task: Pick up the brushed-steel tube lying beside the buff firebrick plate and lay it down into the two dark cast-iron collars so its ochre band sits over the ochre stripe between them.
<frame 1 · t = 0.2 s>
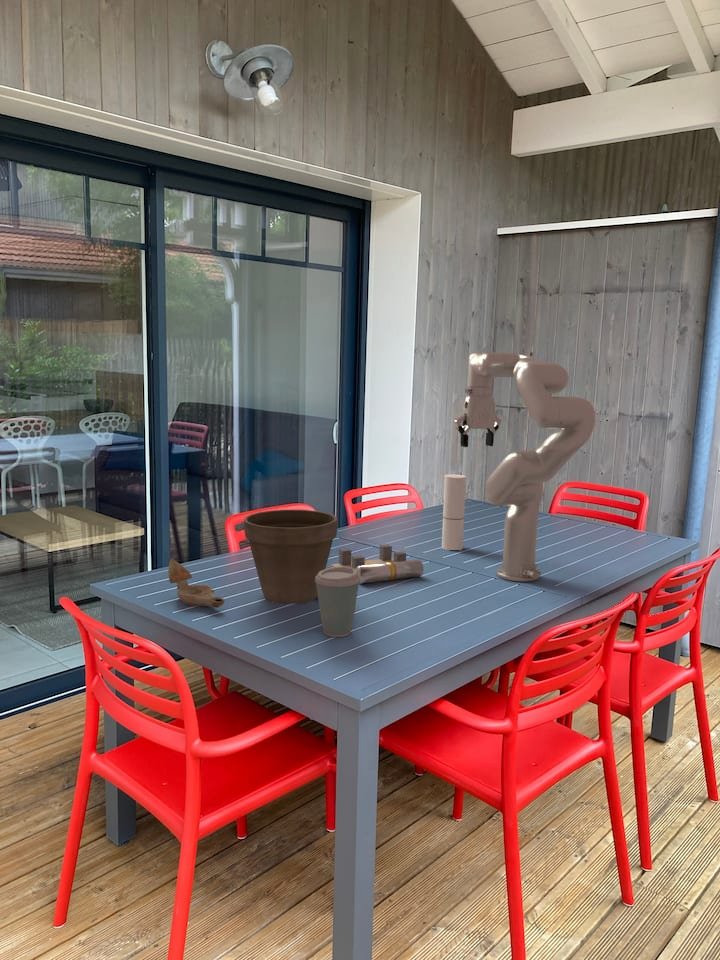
hand: (476, 446, 247), 37 cm above the table, tool pointing down, fingers open, 9 cm apart
disposable coffee cup: (336, 633, 181), on the table
cylindrical container: (452, 548, 263), on the table
oil lamp: (196, 604, 200), on the table
tube: (389, 579, 225), on the table
plant pot: (290, 596, 208), on the table
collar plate: (372, 570, 234), on the table
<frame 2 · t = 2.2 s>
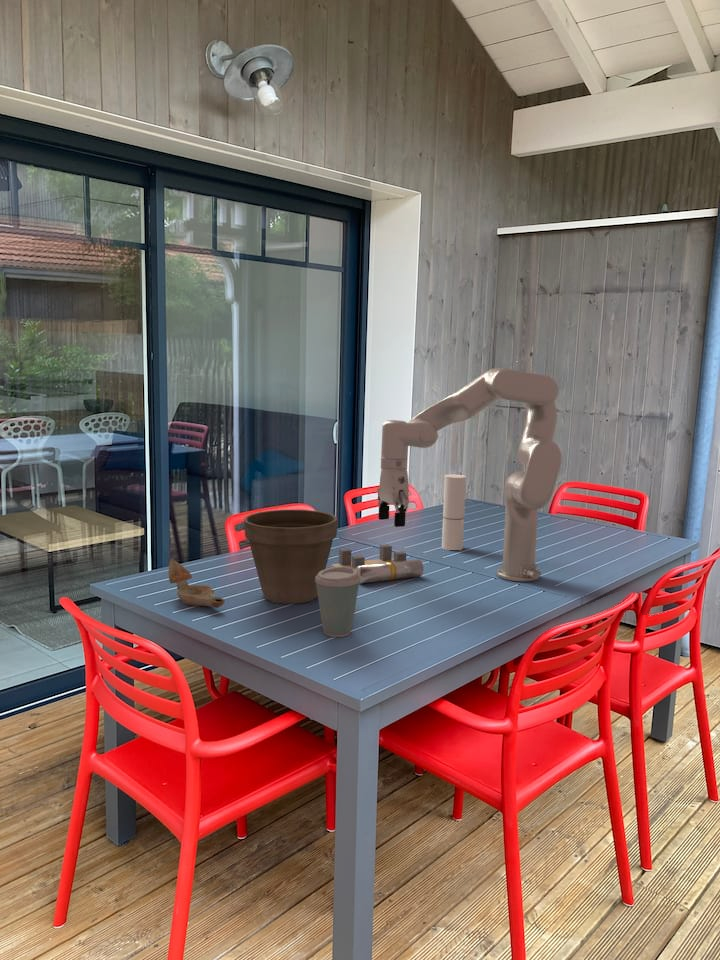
hand: (391, 522, 222), 17 cm above the table, tool pointing down, fingers open, 9 cm apart
nothing on the table moved.
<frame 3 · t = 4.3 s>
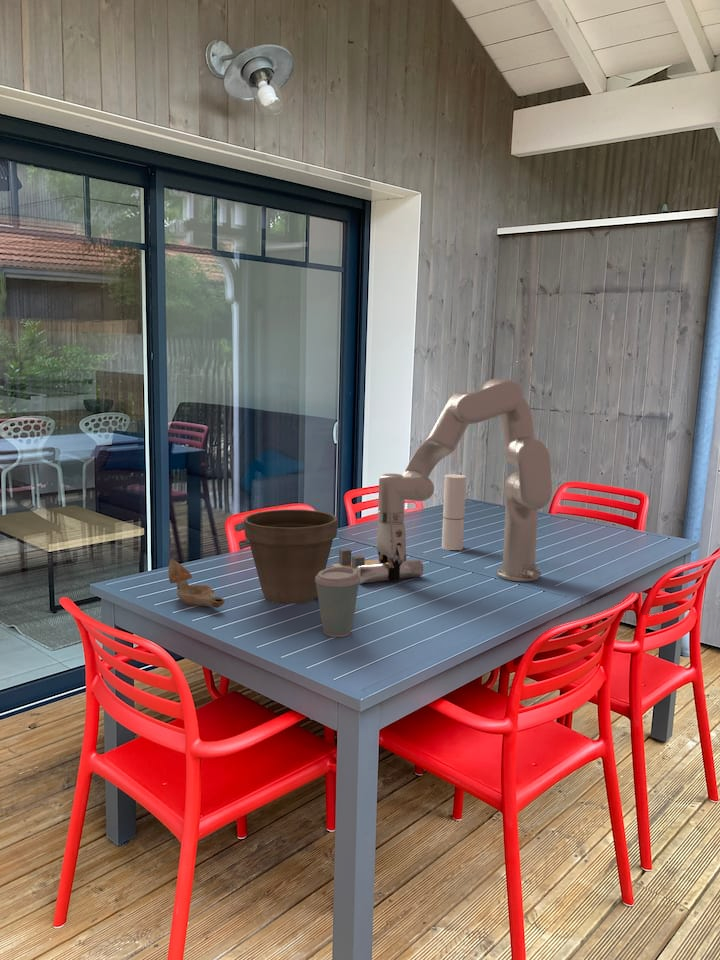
hand: (389, 577, 224), 1 cm above the table, tool pointing down, fingers closed on tube, 5 cm apart
tube: (389, 579, 225), on the table, touching gripper
everything else where it was.
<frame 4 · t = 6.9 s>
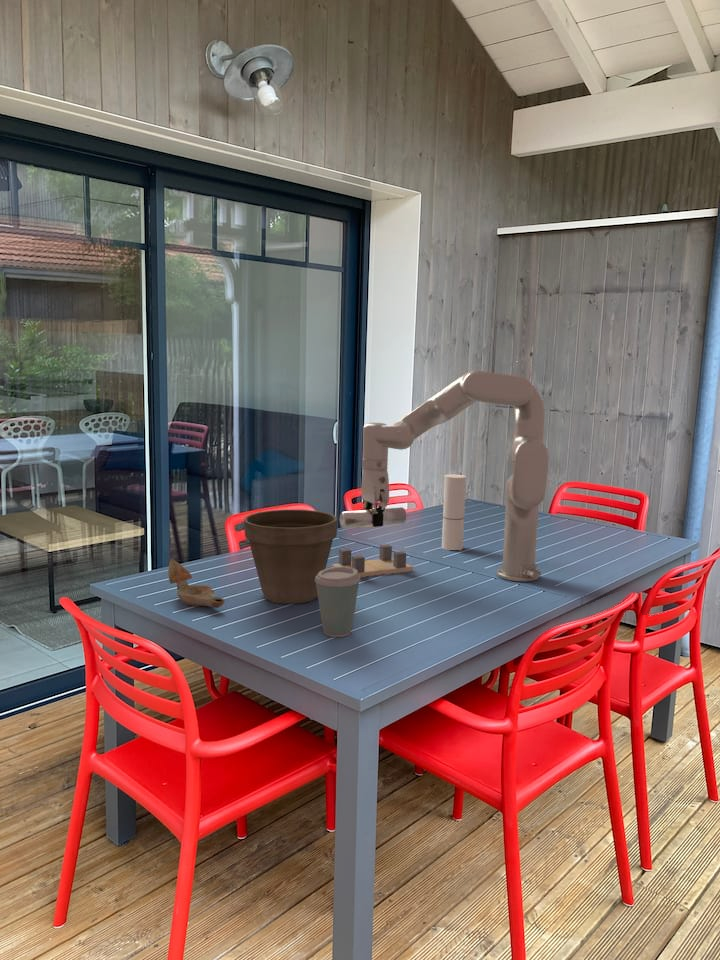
hand: (373, 523, 232), 14 cm above the table, tool pointing down, fingers closed on tube, 5 cm apart
tube: (373, 526, 232), point 14 cm above the table, touching gripper
everything else where it was.
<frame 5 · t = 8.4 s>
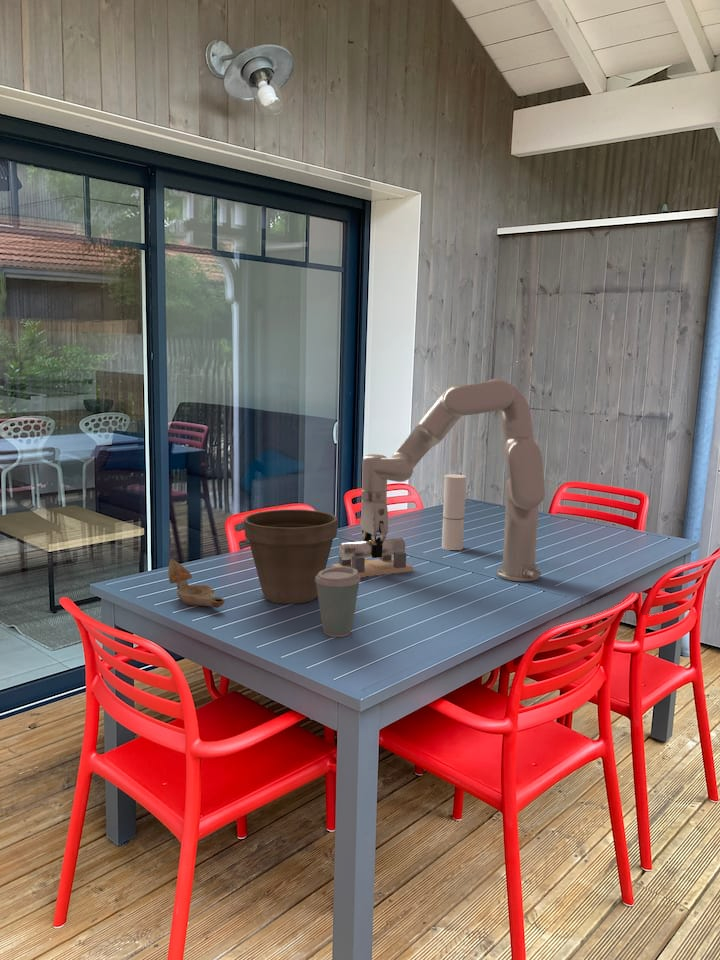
hand: (372, 554, 233), 5 cm above the table, tool pointing down, fingers closed on tube, 5 cm apart
tube: (372, 556, 234), point 4 cm above the table, touching gripper
everything else where it was.
when the fingers open (4 cm above the table, at t = 9.5 s): tube drops 1 cm, resting on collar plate.
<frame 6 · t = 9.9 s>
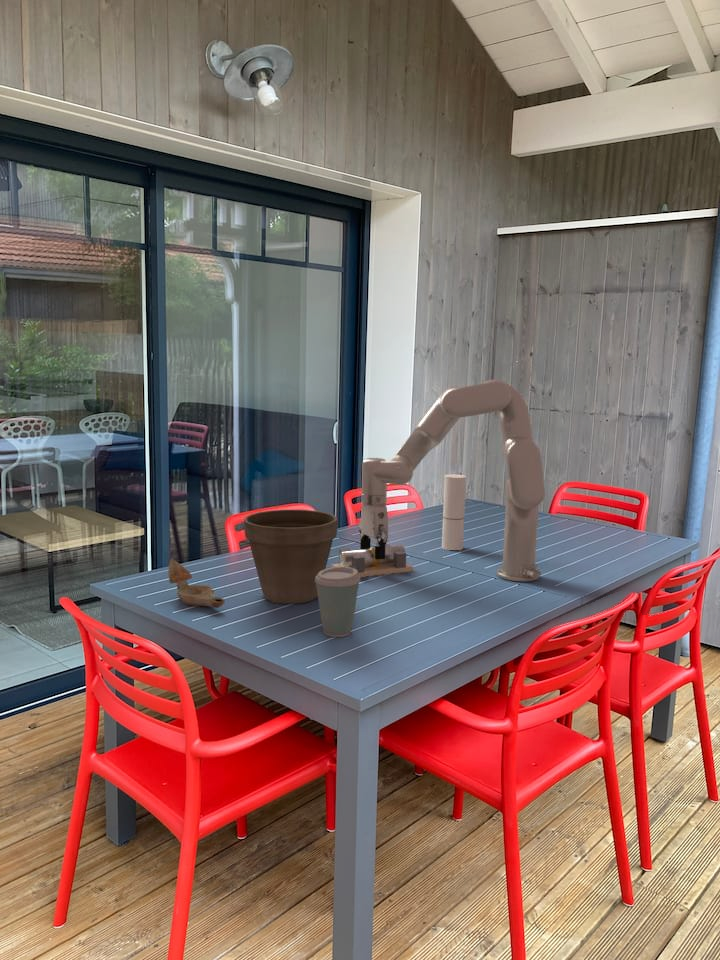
hand: (372, 555, 234), 5 cm above the table, tool pointing down, fingers open, 9 cm apart
tube: (372, 564, 234), point 2 cm above the table, touching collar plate
everything else where it was.
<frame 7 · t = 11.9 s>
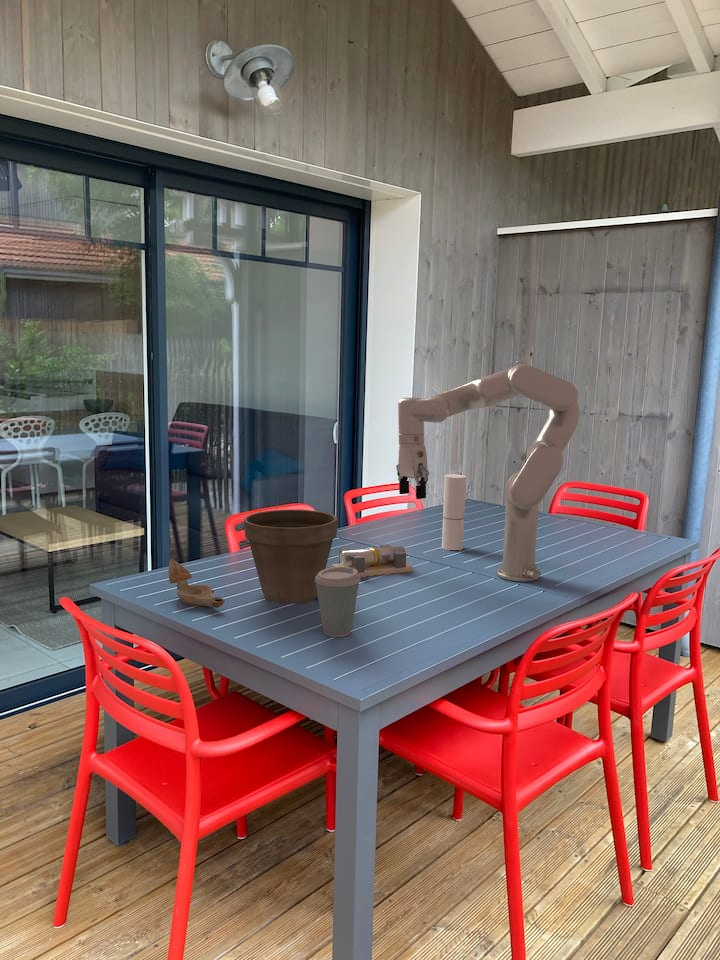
hand: (412, 496, 231), 23 cm above the table, tool pointing down, fingers open, 9 cm apart
nothing on the table moved.
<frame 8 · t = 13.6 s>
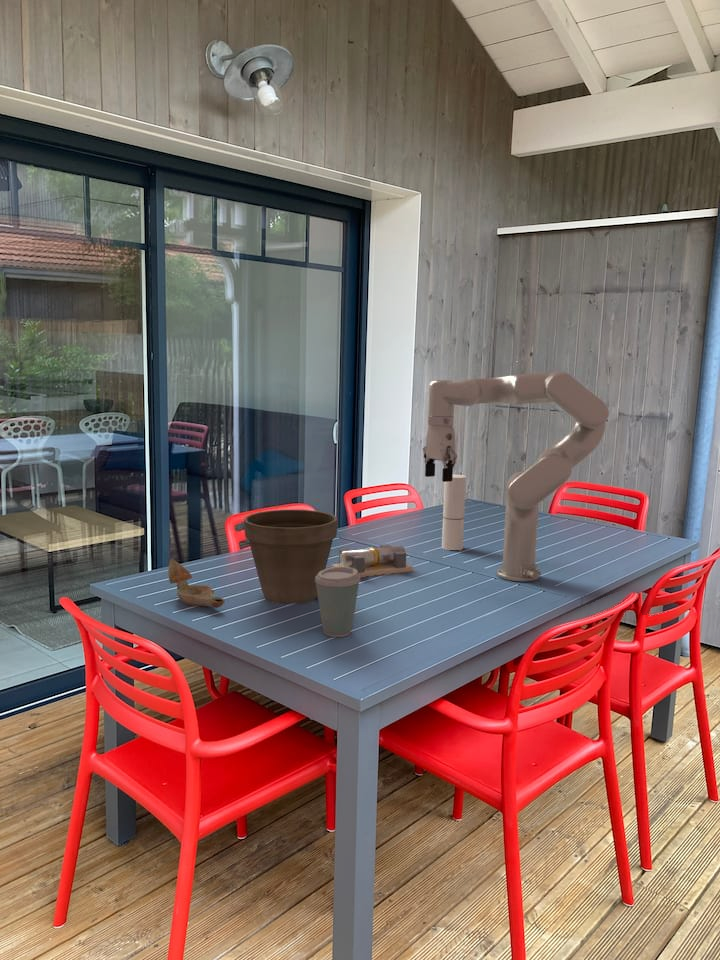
hand: (438, 478, 231), 28 cm above the table, tool pointing down, fingers open, 9 cm apart
nothing on the table moved.
at the end: tube inside the target area on the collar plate (0.1 cm from its centre), point 1.7 cm above the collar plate's base; the gripper is holding nothing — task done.
